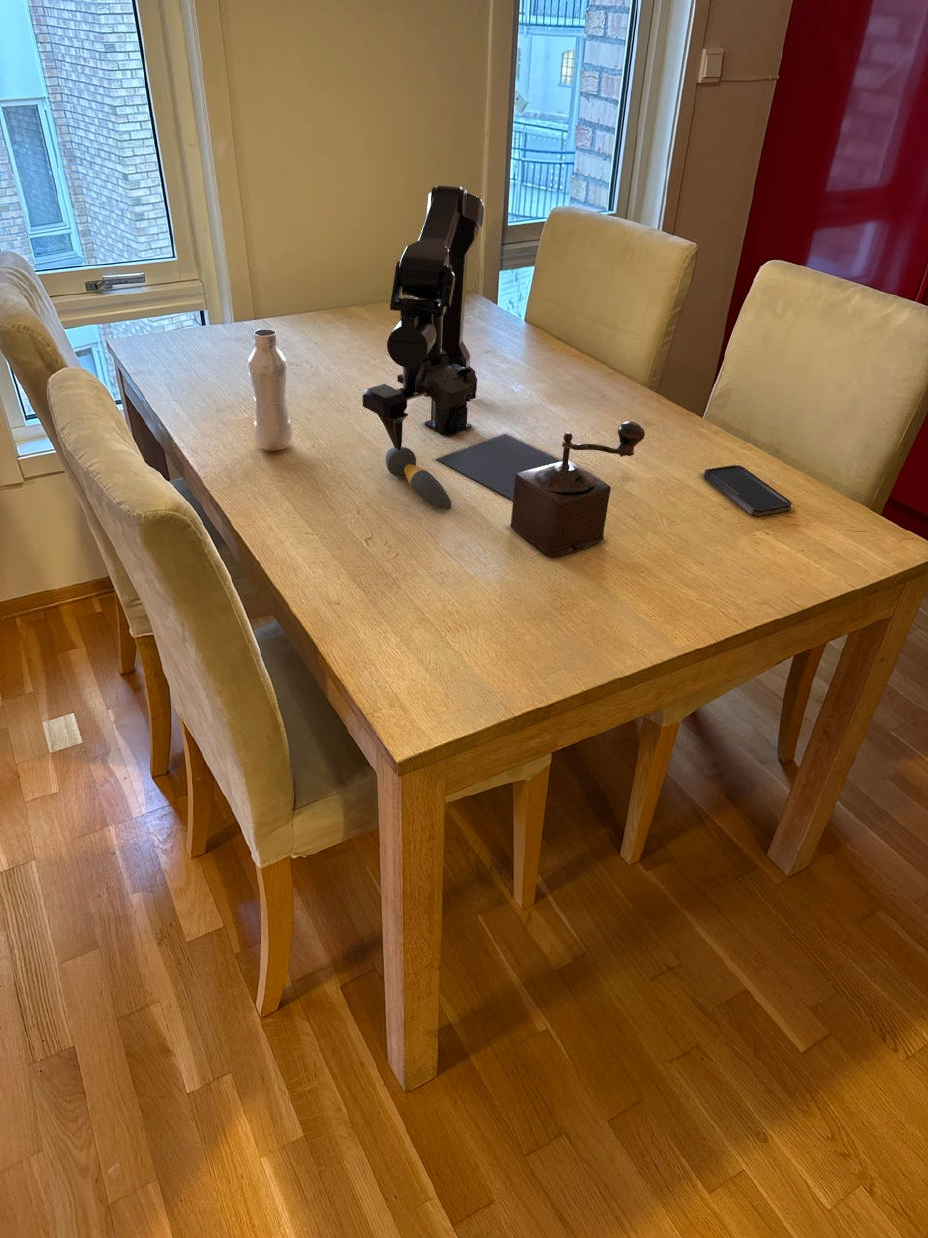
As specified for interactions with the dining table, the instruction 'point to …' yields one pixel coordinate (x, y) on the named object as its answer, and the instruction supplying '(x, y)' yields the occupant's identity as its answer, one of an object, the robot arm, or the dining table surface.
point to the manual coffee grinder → (566, 499)
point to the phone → (747, 490)
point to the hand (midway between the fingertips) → (420, 441)
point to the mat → (497, 462)
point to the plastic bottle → (269, 392)
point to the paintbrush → (417, 477)
